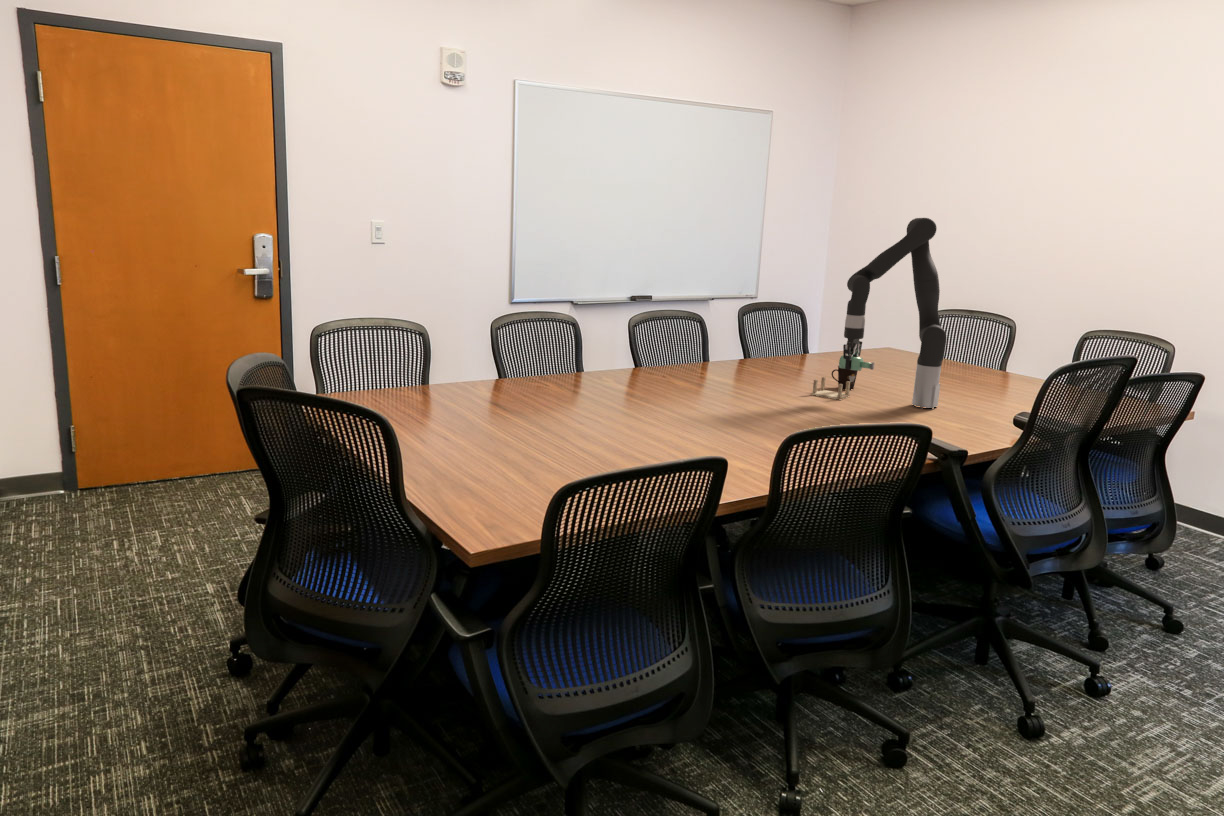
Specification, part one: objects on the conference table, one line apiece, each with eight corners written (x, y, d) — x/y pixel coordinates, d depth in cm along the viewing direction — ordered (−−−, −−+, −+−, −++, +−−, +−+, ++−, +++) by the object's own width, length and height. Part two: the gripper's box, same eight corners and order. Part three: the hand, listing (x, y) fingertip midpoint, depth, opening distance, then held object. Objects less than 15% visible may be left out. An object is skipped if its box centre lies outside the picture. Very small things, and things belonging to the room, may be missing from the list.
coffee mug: (854, 387, 384) (856, 365, 382) (857, 391, 376) (860, 368, 374) (827, 385, 385) (829, 363, 383) (830, 389, 377) (832, 367, 375)
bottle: (875, 371, 346) (875, 358, 344) (870, 373, 342) (871, 361, 340) (843, 366, 353) (844, 354, 352) (838, 369, 349) (839, 356, 348)
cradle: (849, 396, 365) (851, 381, 363) (840, 400, 357) (842, 384, 356) (820, 391, 372) (822, 376, 371) (811, 395, 365) (812, 379, 363)
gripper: (856, 329, 337) (852, 372, 341) (870, 325, 348) (866, 367, 352) (838, 326, 341) (834, 369, 345) (852, 323, 352) (848, 364, 356)
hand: (850, 368), depth 349 cm, fingers closed on bottle, 5 cm apart
